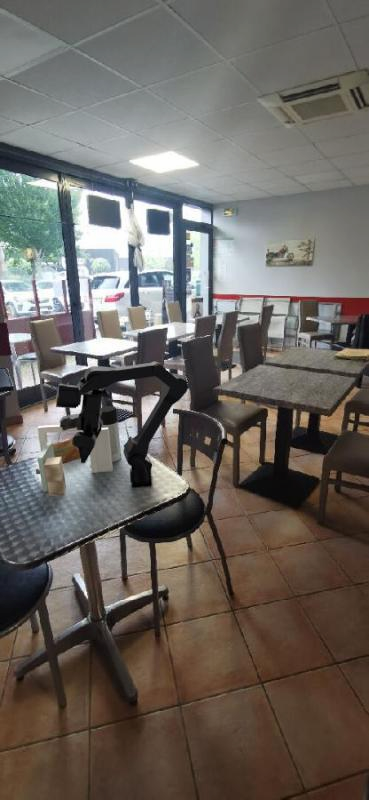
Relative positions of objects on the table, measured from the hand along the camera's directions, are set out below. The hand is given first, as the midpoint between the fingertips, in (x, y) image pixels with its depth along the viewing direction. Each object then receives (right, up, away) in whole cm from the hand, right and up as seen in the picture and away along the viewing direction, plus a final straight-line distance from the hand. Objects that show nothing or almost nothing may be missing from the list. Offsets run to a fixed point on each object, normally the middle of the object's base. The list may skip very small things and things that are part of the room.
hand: (85, 456), depth 123 cm
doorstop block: (-10, -12, +6) cm, 17 cm away
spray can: (+4, -5, +27) cm, 27 cm away
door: (-15, -10, +11) cm, 21 cm away
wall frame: (-6, -8, +18) cm, 20 cm away
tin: (-13, -5, +27) cm, 30 cm away
